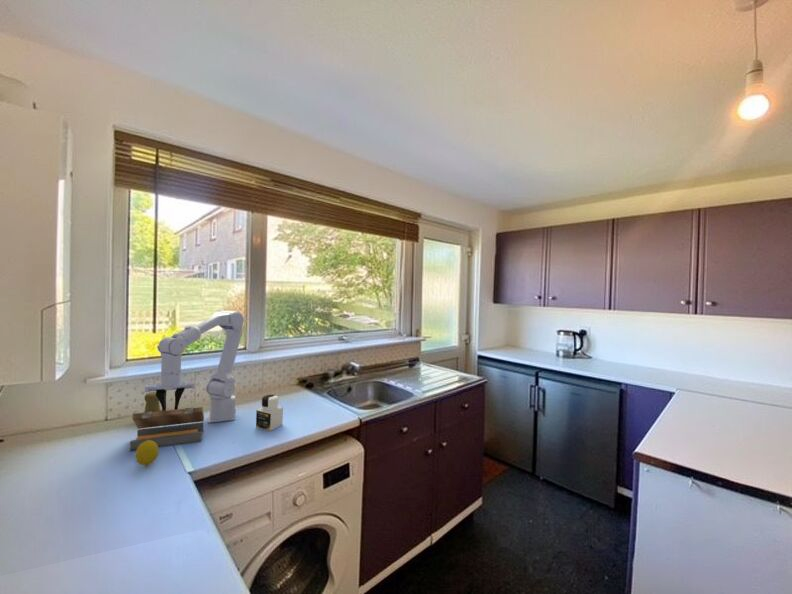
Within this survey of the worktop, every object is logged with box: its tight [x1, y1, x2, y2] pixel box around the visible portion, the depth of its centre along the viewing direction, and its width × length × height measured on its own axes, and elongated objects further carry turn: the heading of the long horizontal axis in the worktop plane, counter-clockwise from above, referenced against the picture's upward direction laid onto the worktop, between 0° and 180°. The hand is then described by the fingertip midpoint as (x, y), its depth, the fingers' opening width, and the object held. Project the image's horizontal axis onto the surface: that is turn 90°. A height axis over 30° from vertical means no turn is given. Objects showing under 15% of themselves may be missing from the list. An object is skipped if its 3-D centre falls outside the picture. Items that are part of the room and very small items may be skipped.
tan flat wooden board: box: [132, 406, 205, 430], centre depth 119 cm, size 20×11×2 cm
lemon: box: [135, 440, 159, 467], centre depth 102 cm, size 6×6×8 cm
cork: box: [144, 391, 161, 412], centre depth 133 cm, size 6×6×11 cm
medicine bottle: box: [255, 394, 284, 432], centre depth 133 cm, size 7×7×12 cm
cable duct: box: [129, 421, 205, 452], centre depth 118 cm, size 20×10×3 cm, turn 115°
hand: (170, 410), depth 119 cm, fingers open, 3 cm apart
